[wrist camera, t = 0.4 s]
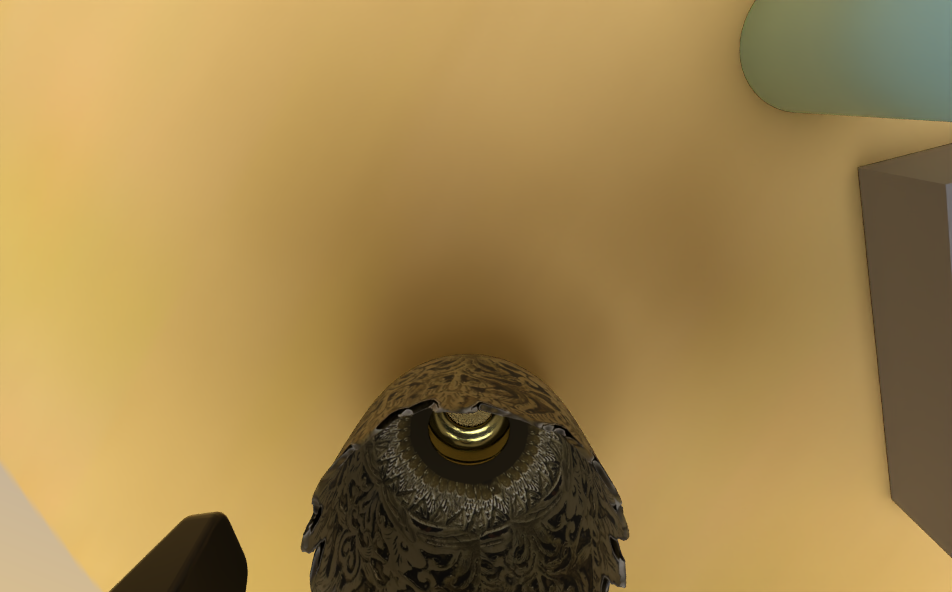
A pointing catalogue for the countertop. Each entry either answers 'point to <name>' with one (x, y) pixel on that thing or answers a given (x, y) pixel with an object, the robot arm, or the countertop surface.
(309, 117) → the countertop surface
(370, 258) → the countertop surface
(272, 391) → the countertop surface
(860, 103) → the peg
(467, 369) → the cup
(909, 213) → the socket
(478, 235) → the countertop surface
